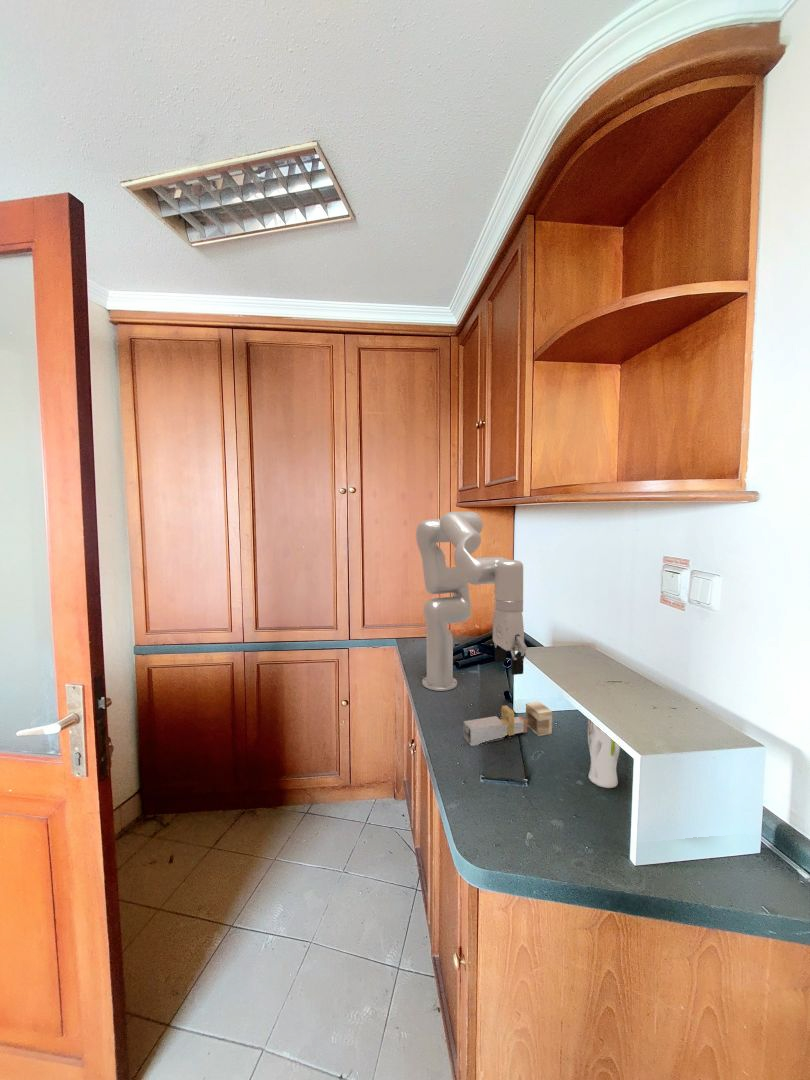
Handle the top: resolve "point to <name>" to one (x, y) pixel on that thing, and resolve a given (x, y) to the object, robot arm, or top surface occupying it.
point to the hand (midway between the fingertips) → (508, 667)
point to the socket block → (539, 718)
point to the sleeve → (483, 730)
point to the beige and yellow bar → (512, 722)
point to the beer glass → (602, 757)
